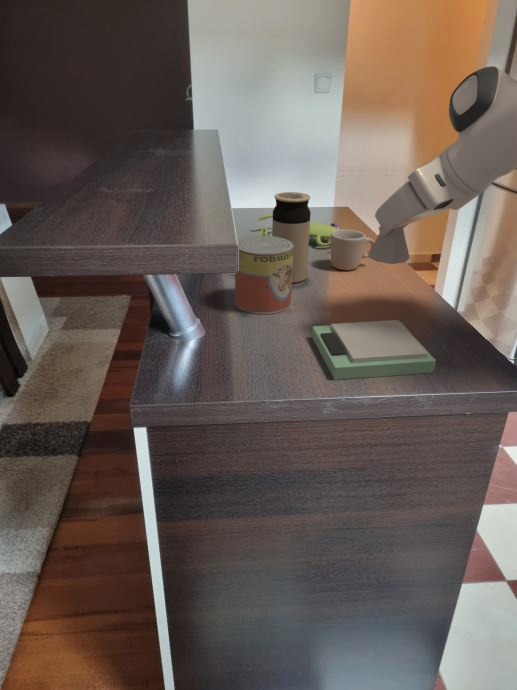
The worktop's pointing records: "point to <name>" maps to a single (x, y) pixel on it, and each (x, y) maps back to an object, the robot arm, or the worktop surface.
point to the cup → (348, 248)
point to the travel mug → (294, 228)
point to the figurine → (311, 230)
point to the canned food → (264, 274)
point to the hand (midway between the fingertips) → (389, 229)
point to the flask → (390, 248)
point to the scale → (371, 350)
